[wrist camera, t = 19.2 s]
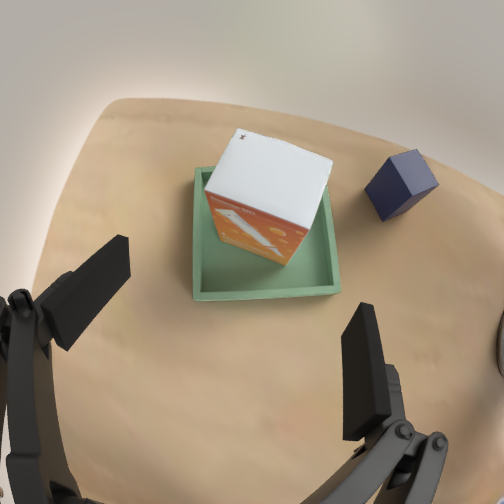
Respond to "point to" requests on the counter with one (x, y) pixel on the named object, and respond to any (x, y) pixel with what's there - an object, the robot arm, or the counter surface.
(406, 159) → the navy block
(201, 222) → the tray
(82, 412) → the counter surface
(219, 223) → the small box
